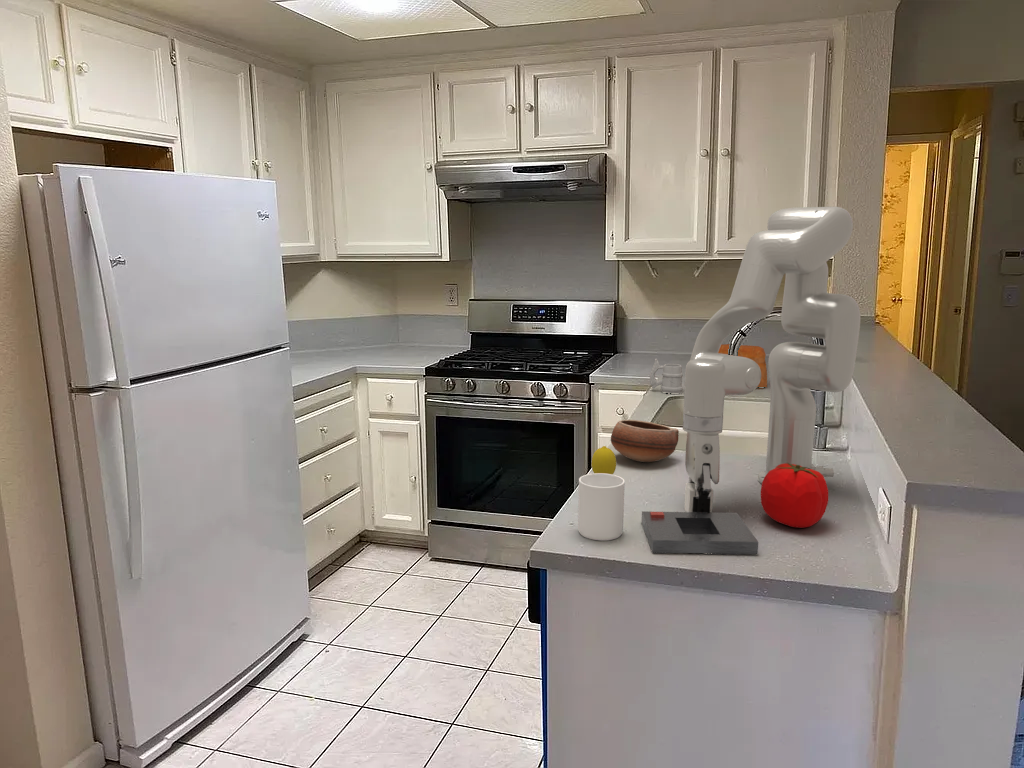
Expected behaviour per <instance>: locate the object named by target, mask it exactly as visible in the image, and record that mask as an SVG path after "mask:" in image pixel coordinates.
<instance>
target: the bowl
mask: <svg viewBox="0 0 1024 768" xmlns="http://www.w3.org/2000/svg"><path fill="white" fill-rule="evenodd" d="M679 432H680V431H679V429H678V428H673V427H669V426H667V425H664V424H658V423H656V422H651V421H647V420H646V421H645V420H638V419H621V420H618V421H617V423H616V424H615V426H614V427H613V430H612V432H611V435H610V443H611V445H612V446H613V448H614V449H615V450H616V451H617V452H618V453H619V454H621V455H622V456H624V457H626V458H628V459H630V460H633V461H636V462H639V463H640V462H642V463H652V462H657V461H658V462H659V461H660V460H663V459H666V458H668V457H669V456H671V455H672V454H674V452H675V451H676V448H677V447H678V443H679V435H680V434H679Z"/></svg>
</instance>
